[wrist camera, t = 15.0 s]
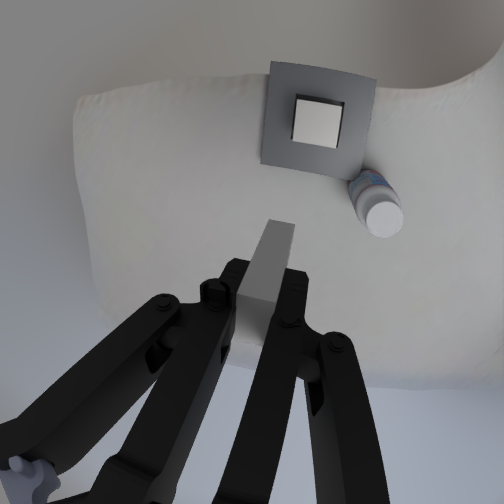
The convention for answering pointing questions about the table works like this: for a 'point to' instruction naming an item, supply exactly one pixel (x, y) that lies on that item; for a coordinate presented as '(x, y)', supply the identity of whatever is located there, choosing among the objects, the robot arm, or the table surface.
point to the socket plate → (324, 91)
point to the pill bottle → (376, 204)
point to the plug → (317, 123)
